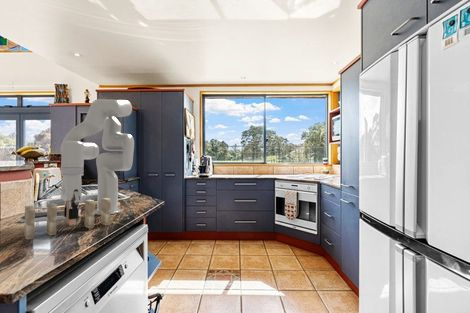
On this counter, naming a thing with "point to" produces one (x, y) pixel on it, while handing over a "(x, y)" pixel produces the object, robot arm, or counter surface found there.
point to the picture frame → (43, 216)
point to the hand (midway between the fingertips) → (71, 217)
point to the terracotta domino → (68, 221)
